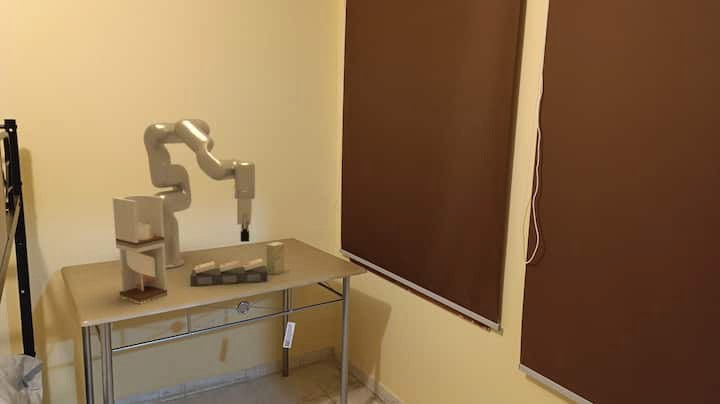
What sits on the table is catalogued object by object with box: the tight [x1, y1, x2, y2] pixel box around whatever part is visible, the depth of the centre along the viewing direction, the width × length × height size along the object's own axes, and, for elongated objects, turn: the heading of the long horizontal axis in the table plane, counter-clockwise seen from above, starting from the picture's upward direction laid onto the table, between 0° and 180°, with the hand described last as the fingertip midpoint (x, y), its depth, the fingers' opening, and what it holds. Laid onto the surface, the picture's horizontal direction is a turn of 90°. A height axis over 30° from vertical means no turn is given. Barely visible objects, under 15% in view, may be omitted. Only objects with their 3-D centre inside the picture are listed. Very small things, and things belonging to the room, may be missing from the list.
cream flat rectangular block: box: [219, 259, 240, 272], centre depth 183 cm, size 7×4×2 cm, turn 104°
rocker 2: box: [243, 258, 264, 271], centre depth 185 cm, size 7×4×2 cm, turn 104°
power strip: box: [190, 265, 268, 288], centre depth 184 cm, size 28×8×4 cm, turn 104°
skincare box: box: [266, 241, 285, 276], centre depth 194 cm, size 6×4×12 cm
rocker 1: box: [194, 260, 216, 273], centre depth 181 cm, size 7×4×2 cm, turn 104°
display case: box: [112, 193, 168, 303], centre depth 164 cm, size 11×11×35 cm
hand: (244, 241), depth 183 cm, fingers closed
